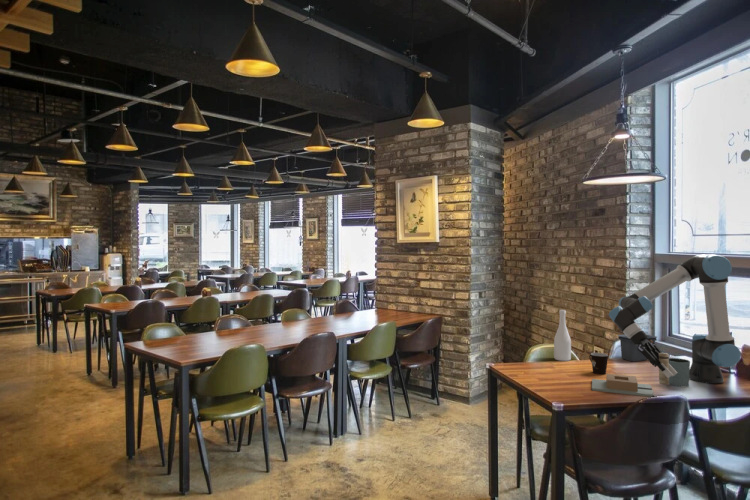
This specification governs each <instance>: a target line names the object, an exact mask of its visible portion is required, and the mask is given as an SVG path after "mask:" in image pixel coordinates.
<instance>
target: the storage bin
mask: <svg viewBox="0 0 750 500" xmlns="http://www.w3.org/2000/svg"><path fill="white" fill-rule="evenodd" d="M617 336H618V337H617V339H618V340H620V342H619V343H620V352H621V354H620V355H621V359H622V360H625V361H629V362H642V361H648V359H647V358H646V357H645V356H644V355H643V354H642V353H641V352H640V351H639V350H638V349H637V348H639V346H638V345H634V344H633V343H632V342H631V341H630V338H628V337H627V336H625V334H618V335H617ZM647 336H648V338H647V340H648V341H650V343H653V342H654V343H656V341H657V340H658V339H657V338H658V336H657V335H656V336H655V335H650V334H647Z"/></svg>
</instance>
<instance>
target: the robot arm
mask: <svg viewBox="0 0 750 500" xmlns="http://www.w3.org/2000/svg"><path fill="white" fill-rule="evenodd" d="M732 271H733V267H732V264H731V262H730V260H729V259H728V258H726V257H725V256H723V255H719V254H717V253H716V254H714V253H713V254H707V253H705V254H704V253H701V254H696V255H694V256H691V257H690V258H688V259H687V260H685V261H683V262H682V263H680V264H678V265H677V266H676V268H675V269H673V270H672V271H670V272H668V273H666V274H665V275H663V276H661V277H659V278H658V279H656V280H655V281H654V280H653V282H651V283H649V284H648V285H645V286H644V287H643V288H640V289H639V290H637V291H636V292H634V293H631V294H630V295H629V296H622V297H621V298H619V300H618V305H617V306H616V307H614V308H613V309H611V310H610V311H609V313H608V316H609V318H610V319H611V321H612V322H613V323H614V324H615V325H616V326H617V328H619V330H621V332H622V333H623V335H625V336H627V337H628V338H630V341H631V342H632V343H633V344H634V345H638V346H639V348H637V349H638V350H639V351H640V352H641V353H642V354H643V355H644V356H645V357H646V358H647V359H648V360H647V361H648V362H649V363H650V364H651V365H652V366H653V367H654V368H656V367H657V368H658V370H659V369H660V370H661V371H662V372H663V373H664V374H665V375H666V377H667V378H669V377H670V376H674V375H675V374H677V372H676V370H675V369H674V368H673V367H672V366H671V365H670V364H669V370H668V368H667V367H666V366H665V365H664V364H663V363H661V362H660V361H659V353H663V351H662V350H661V349H660V348H659V347H658V346H657V344H656V342H653V343H650V341H648V340H647V338H648V336H647V335H648V334H647V333H646V332H645V331H644V330H642V328H641V327H640V326H639V324H638V323H636V321H637V319H639V318H640V317H642V316H643V315H646V314H647V313H649V312H650V311H651V310H652V309H653V308H654V305H653V303H652V301H654V300H655V299H657V298H659V297H661V296H662V295H664V294H666V293H667V292H669V291H671V290H673V289H674V288H677V287H679V286H680V285H682V284H683V283H685V282H691V281H693V280H695V279H698V281H699V284H700V285H702V286H703V293H704V303H705V305H704V306H705V311H706V312H705V313H706V324H707V332H708V333H707V334H694V335H692V339H691V345H692V346H691V364H690V371H689V378H690V379H689V380H691V379H692V381H695V380H696V381H695V382H699V381H700V383H705V382H707V384H723V383H724V376H723V375H724V374H723V372H722V370H721V367H722V368H733V367H734V366H735V365H736V364H738V363H739V362H740V360H741V358H742V354H741V350H740V348H739V347H737V346H736V344H735V343H736V342H735V338H734V337H733V336H732V335H731V333H730V321H729V316H728V315H729V312H728V305H727V293H726V285H727V284H728V283H729V277H730V275H731V273H732ZM660 363H661V364H660Z"/></svg>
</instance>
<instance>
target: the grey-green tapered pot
mask: <svg viewBox="0 0 750 500" xmlns="http://www.w3.org/2000/svg"><path fill="white" fill-rule="evenodd" d="M669 364H670V365H671V366H672V367H673V368H674V369H675V370H676V372H677V374H675V375H674V376H670V377H669V385H671V386H674V385H675V386H674V387H681V386H686V387H689V384H690V382H689V381H690V379H689V371H690V367H691V361H690V360H689V359H686V358H676V357H675V358H674V357H669Z"/></svg>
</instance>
